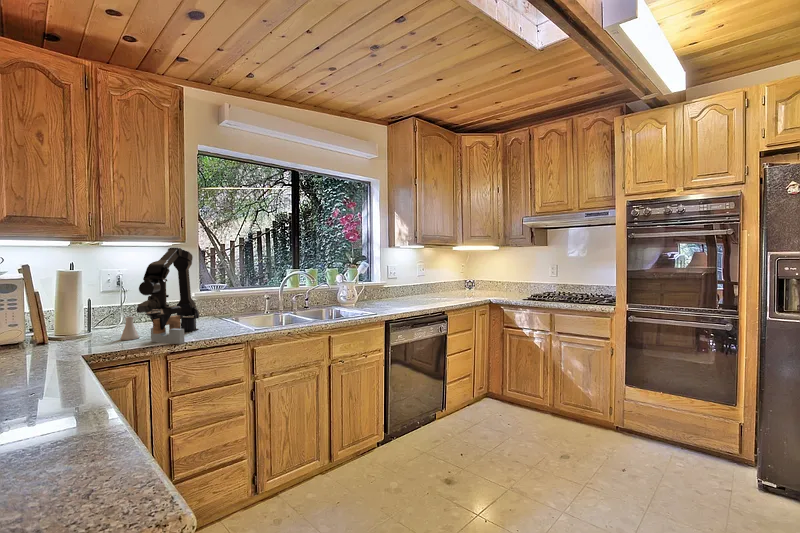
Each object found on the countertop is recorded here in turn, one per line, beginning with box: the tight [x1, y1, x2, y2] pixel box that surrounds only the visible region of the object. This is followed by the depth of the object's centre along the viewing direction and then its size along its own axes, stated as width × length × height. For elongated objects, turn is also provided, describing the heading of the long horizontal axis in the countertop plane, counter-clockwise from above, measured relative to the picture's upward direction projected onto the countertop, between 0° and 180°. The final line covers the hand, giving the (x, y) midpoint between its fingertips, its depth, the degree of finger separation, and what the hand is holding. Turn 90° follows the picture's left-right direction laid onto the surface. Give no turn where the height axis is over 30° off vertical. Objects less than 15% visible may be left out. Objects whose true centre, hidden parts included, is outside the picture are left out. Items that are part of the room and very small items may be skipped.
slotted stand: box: [150, 327, 185, 345], centre depth 181 cm, size 2×16×6 cm, turn 73°
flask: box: [120, 316, 140, 341], centre depth 189 cm, size 7×7×10 cm
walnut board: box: [152, 314, 181, 334], centre depth 181 cm, size 12×2×6 cm, turn 163°
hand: (159, 329), depth 177 cm, fingers closed on walnut board, 2 cm apart
